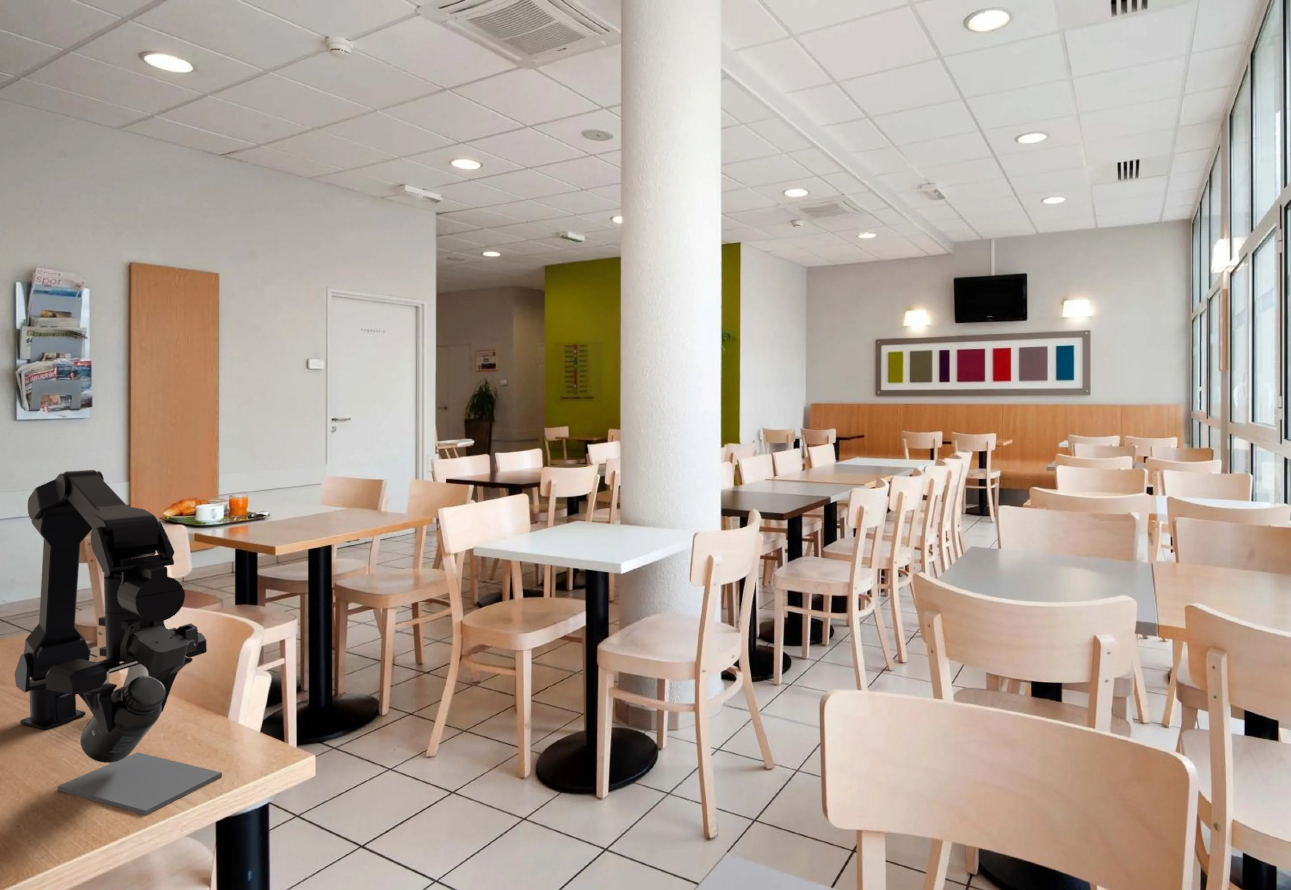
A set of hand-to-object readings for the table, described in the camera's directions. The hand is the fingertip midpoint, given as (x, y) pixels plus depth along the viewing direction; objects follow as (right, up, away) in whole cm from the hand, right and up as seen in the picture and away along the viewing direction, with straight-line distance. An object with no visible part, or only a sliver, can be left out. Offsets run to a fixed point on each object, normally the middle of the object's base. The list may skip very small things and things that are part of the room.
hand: (133, 721), depth 107 cm
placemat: (+1, -8, 0) cm, 8 cm away
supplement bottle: (-5, -4, +2) cm, 7 cm away
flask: (-16, -7, +27) cm, 32 cm away
